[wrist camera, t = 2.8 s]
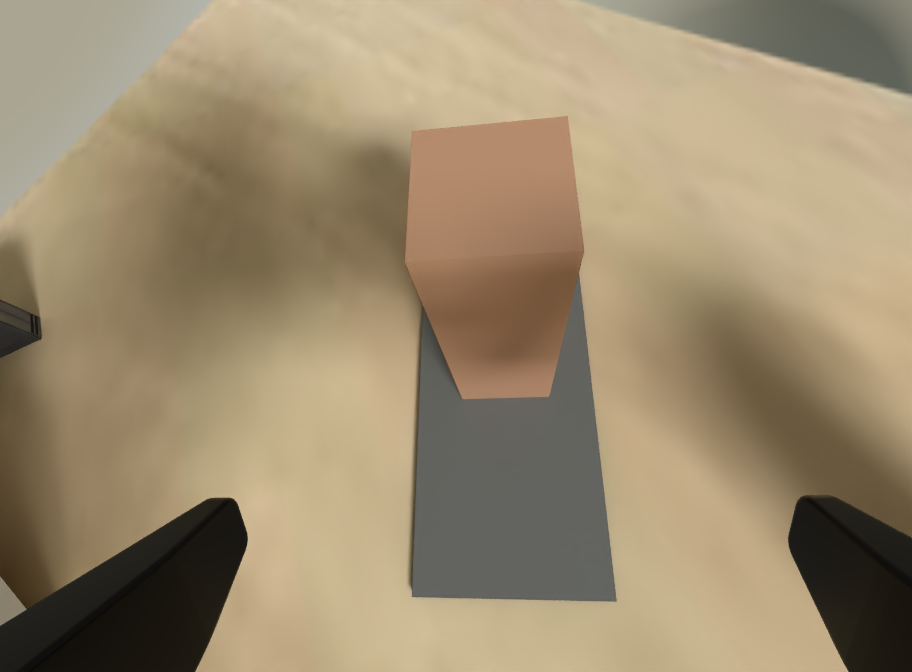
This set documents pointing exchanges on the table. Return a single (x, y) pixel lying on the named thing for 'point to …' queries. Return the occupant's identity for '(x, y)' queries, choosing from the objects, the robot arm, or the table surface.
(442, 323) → the terracotta block
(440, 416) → the charcoal mat
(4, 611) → the folded paper
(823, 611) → the robot arm
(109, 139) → the table surface
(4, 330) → the mini dv tape
